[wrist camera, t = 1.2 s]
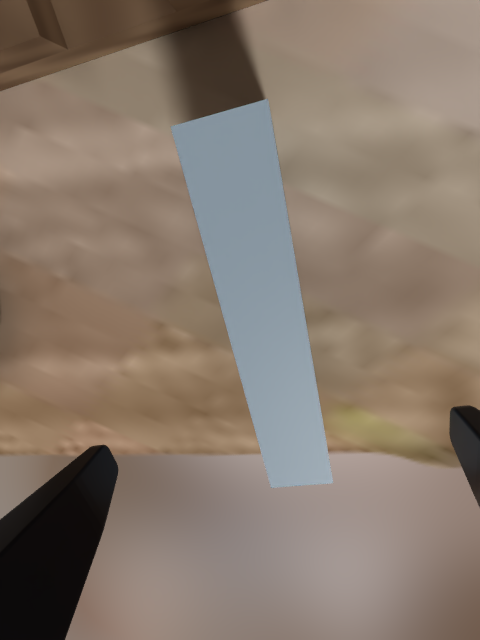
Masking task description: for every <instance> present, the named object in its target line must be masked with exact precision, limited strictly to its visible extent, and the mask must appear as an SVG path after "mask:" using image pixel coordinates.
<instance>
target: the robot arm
mask: <svg viewBox="0 0 480 640" xmlns="http://www.w3.org/2000/svg"><path fill="white" fill-rule="evenodd" d="M450 439H451V442H452V445H453V447H454V450H455V452H456V454H457V457H458V459H459V461H460V463H461V466H462V468H463V470H464V473H465V475H466V477H467V480H468V482H469V484H470V486H471V489H472V491H473V494H474V496H475V498H476V500H477V502H478V505H479V506H480V410H478V409H476V408H475V407H473V406H469V405H467V406H458V407H453V408H452V409H451V411H450ZM117 476H118V465H117V463H116V461H115V459H114V457H113V455H112V453H111V451H110V449H109V448H108V447H107V446H106V445H97V446H92V447H90V448H89V449H87V450H86V451H85V452H84V453H82V454H81V455H80V456H79V457H77V458H76V459H75V460H74V461H72V462H71V463H70V464H69V465H68V466H66V467H65V468H64V469H63V470H61V471H60V472H59V473H57V474H56V475H55V476H54V477H53V478H51V479H50V480H49V481H48V482H46V483H45V484H44V485H43V486H41V487H40V488H39V489H38V490H36V491H35V492H34V493H33V494H31V495H30V496H29V497H28V498H26V499H25V500H24V501H23V502H21V503H20V504H19V505H18V506H16V507H15V508H14V509H13V510H11V511H10V512H9V513H8V514H7V515H5V516H4V517H3V518H1V520H0V640H65V638H66V635H67V632H68V630H69V627H70V624H71V621H72V618H73V615H74V613H75V610H76V607H77V604H78V601H79V598H80V596H81V593H82V590H83V587H84V584H85V581H86V579H87V576H88V573H89V570H90V567H91V564H92V561H93V559H94V556H95V553H96V550H97V547H98V545H99V542H100V539H101V536H102V533H103V530H104V526H105V522H106V519H107V515H108V511H109V507H110V503H111V499H112V495H113V491H114V487H115V483H116V480H117Z"/></svg>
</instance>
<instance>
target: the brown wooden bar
mask: <svg viewBox="0 0 480 640" xmlns="http://www.w3.org/2000/svg"><path fill="white" fill-rule="evenodd" d="M264 1H267V0H0V91H2V90H5V89H8V88H11V87H14V86H16V85H19V84H22V83H25V82H28V81H31V80H34V79H37V78H40V77H43V76H46V75H49V74H52V73H55V72H58V71H61V70H64V69H67V68H70V67H72V66H75V65H78V64H81V63H84V62H87V61H90V60H93V59H96V58H99V57H102V56H105V55H108V54H111V53H114V52H117V51H120V50H123V49H126V48H128V47H131V46H134V45H137V44H140V43H143V42H146V41H149V40H152V39H155V38H158V37H161V36H164V35H167V34H170V33H173V32H176V31H179V30H181V29H184V28H187V27H190V26H193V25H196V24H199V23H202V22H205V21H208V20H211V19H214V18H217V17H220V16H223V15H226V14H229V13H232V12H235V11H237V10H240V9H243V8H246V7H249V6H252V5H255V4H258V3H261V2H264Z"/></svg>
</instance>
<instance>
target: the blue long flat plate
mask: <svg viewBox="0 0 480 640" xmlns="http://www.w3.org/2000/svg"><path fill="white" fill-rule="evenodd" d="M171 130H172V133H173V137H174V140H175V144H176V148H177V151H178V155H179V158H180V162H181V166H182V169H183V173H184V176H185V180H186V184H187V187H188V191H189V194H190V198H191V202H192V205H193V209H194V212H195V216H196V220H197V223H198V227H199V230H200V234H201V238H202V241H203V245H204V248H205V252H206V255H207V259H208V263H209V266H210V270H211V273H212V277H213V281H214V284H215V288H216V291H217V295H218V299H219V302H220V306H221V309H222V313H223V317H224V320H225V324H226V327H227V331H228V335H229V338H230V342H231V345H232V349H233V353H234V356H235V360H236V363H237V367H238V371H239V374H240V378H241V381H242V385H243V388H244V392H245V396H246V399H247V403H248V406H249V410H250V414H251V417H252V421H253V424H254V428H255V432H256V435H257V439H258V442H259V446H260V450H261V453H262V457H263V460H264V464H265V468H266V471H267V474H268V478H269V482H270V485H271V488H274V487H287V486H301V485H315V484H326V483H327V484H328V483H333V479H332V473H331V467H330V462H329V455H328V449H327V443H326V437H325V432H324V426H323V420H322V414H321V408H320V402H319V396H318V390H317V384H316V378H315V372H314V366H313V360H312V355H311V349H310V343H309V337H308V331H307V325H306V319H305V313H304V308H303V302H302V296H301V290H300V284H299V278H298V272H297V266H296V260H295V255H294V249H293V243H292V237H291V231H290V225H289V219H288V213H287V207H286V201H285V195H284V190H283V184H282V178H281V172H280V166H279V160H278V154H277V148H276V142H275V136H274V131H273V125H272V119H271V113H270V108H269V102H268V99H265V100H262V101H258V102H255V103H251V104H248V105H244V106H241V107H237V108H234V109H230V110H227V111H223V112H220V113H216V114H213V115H209V116H206V117H202V118H199V119H195V120H192V121H188V122H185V123H181V124H178V125H174V126H171Z"/></svg>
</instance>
